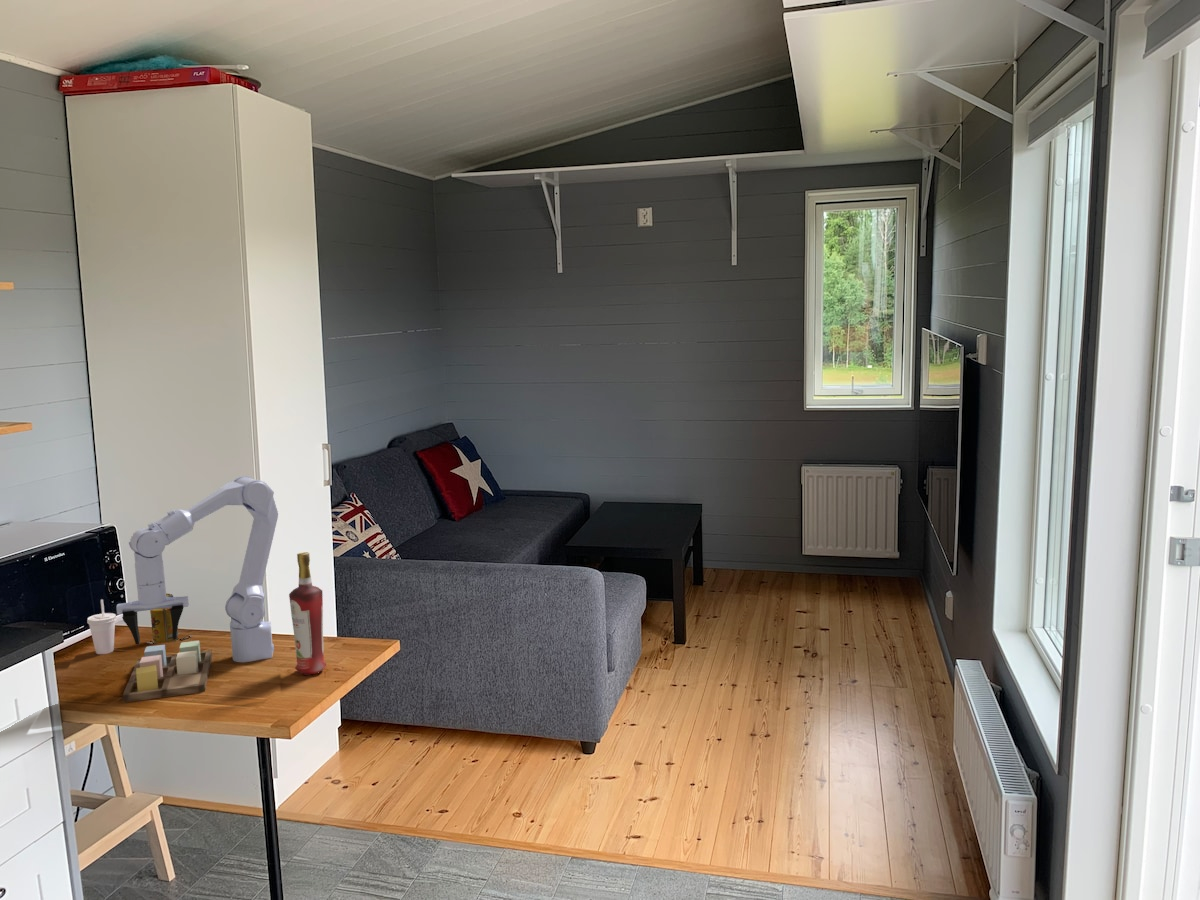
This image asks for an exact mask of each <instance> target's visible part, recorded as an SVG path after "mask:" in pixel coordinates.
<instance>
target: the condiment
mask: <svg viewBox="0 0 1200 900" xmlns="http://www.w3.org/2000/svg"><path fill="white" fill-rule="evenodd" d="M166 597H174V595H173V594H171V593H166ZM171 609H172V608H163V609H155V610H149V613H150V621H151V633H152V641H153V640H154V641H153V643H154V644H153V643H152V642H150V641H146V642H145V643H146V644H150V645H157V644H158V645H159V644H164V643H165V644H166V643H174V642H177V641H176V640H178V639H179V638H178V634H179V628H178V629H177V639H175V640H173V636H172V620H171V613H170V611H171ZM189 636H190V637H184V639H181V640H179V641H178V642H180V641H182V640H186V639H188V638H191V637H192V635H189Z"/></svg>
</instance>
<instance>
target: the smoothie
mask: <svg viewBox="0 0 1200 900" xmlns="http://www.w3.org/2000/svg"><path fill="white" fill-rule="evenodd" d="M100 609H101V613H99V614H98V613H97V614H93V615H91V616H88V617H87V620H86V621H87V622H86V623H87V624H88V626H89V629H90V634H91V637H92V642H93V645H94V651H95V654H97V655H105V654H111V653H112V652H114V650H115V627H116V626H115V625H116V620H117V613H113V612H105V605H104V599H102V598H101V599H100Z"/></svg>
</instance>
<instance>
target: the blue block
mask: <svg viewBox="0 0 1200 900" xmlns="http://www.w3.org/2000/svg"><path fill="white" fill-rule="evenodd" d="M166 653H167V651H166V644H160V645H159V644H158V645H157V644H156V645H149V646H146V647H145V648H144V652H143V654H144V655H143V657H147V656H156V655H161V658H162V666H167V662H166V656H167V654H166Z"/></svg>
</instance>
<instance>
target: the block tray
mask: <svg viewBox="0 0 1200 900" xmlns="http://www.w3.org/2000/svg"><path fill="white" fill-rule="evenodd" d="M177 654H178V653H177ZM177 654H171V655H166V662H167V666H162V669H163V677H158V678H157V680H158V689H154V690H146V691H139V692H138V688H137V677H136V668H140V661H141V658H138V659H137V661H136V663H135V666H134V668H133V669H132V670H133V671H132V672H131V675H130V677H129V680H128V682H127V684H126V686H125V689H124V691H123V694H122V703H128V702H138V701H143V700H144V701H145V700H151V699H152V700H153V699H160V698H166V697H167V698H168V697H175V696H182V695H183V696H184V695H189V694H196V693H197V694H198V693H203V692H206V688H207V684H208V678H209V675H210V669H211V664H212V658H213V650H212V649H210V650H203V651H201V650H200V655H201V662H198V672H197V673H190V674H182V675H177V663H176V657H177Z"/></svg>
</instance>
